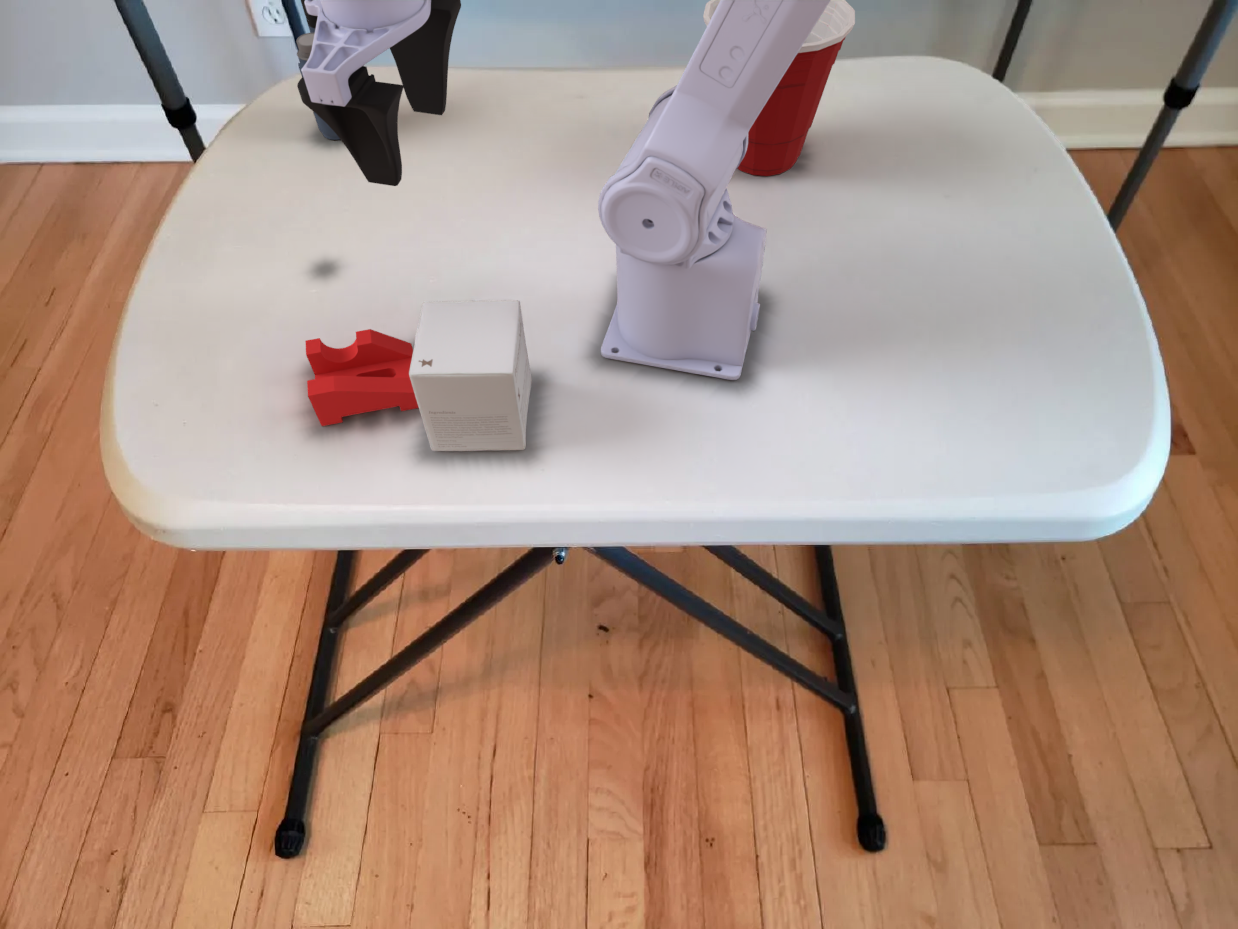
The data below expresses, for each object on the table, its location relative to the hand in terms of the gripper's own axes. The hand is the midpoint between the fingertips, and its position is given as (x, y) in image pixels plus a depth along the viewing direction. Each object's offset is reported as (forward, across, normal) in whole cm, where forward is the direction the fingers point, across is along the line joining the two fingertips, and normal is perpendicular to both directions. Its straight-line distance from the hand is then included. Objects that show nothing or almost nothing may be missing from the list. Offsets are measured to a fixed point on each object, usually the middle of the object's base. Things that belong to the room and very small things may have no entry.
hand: (407, 144), depth 59 cm
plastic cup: (+11, -19, +21) cm, 30 cm away
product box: (+11, +12, +8) cm, 18 cm away
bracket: (+11, +12, 0) cm, 16 cm away
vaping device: (+11, -15, -14) cm, 24 cm away
